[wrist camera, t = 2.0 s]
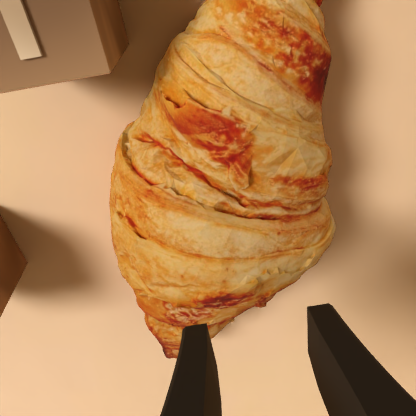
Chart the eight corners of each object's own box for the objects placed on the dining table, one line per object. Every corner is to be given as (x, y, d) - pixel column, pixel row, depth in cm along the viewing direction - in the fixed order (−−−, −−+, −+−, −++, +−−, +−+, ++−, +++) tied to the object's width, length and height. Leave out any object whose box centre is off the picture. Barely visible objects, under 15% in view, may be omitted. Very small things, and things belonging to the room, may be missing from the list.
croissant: (204, -88, 16) (74, -173, 9) (457, -37, 13) (526, -103, 7) (141, 283, 26) (59, 369, 20) (275, 350, 24) (233, 474, 17)
